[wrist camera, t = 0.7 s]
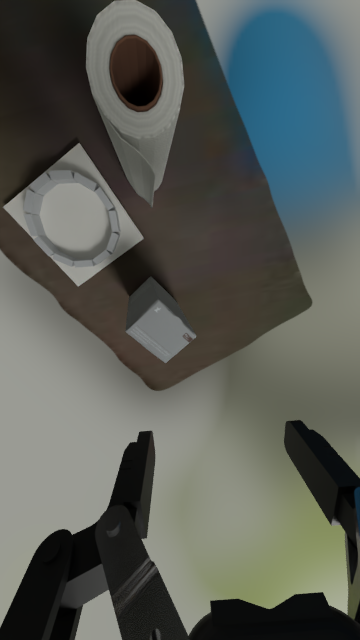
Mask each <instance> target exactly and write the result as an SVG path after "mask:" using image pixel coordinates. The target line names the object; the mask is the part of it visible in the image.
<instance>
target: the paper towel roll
mask: <svg viewBox="0 0 360 640" xmlns="http://www.w3.org/2000/svg"><path fill="white" fill-rule="evenodd" d="M86 71H87V75H88V79H89V83H90V87H91V92H92V95H93V98H94V100H95V103H96V105H97V108H98V110H99V112H100V115H101V117H102V120H103V122H104V124H105V127H106V129H107V132H108V134H109V137H110V139H111V141H112V144H113V146H114V149H115V151H116V153H117V156H118V158H119V161H120V163H121V166H122V168H123V170H124V173H125V175H126V178H127V179H128V181H129V183H130V184H131V186H132V187H133V189H134V190H135V191H136V193H137V194H138V195H139V196H141V197H142V198H144V199H145V200H146V201H147V202H148V203H149V204H150V206H151V208H152V204H153V196H154V191H155V190H157V189H158V188H159V186H160V184H161V183H162V179H163V175H164V171H165V167H166V163H167V159H168V155H169V151H170V147H171V143H172V139H173V135H174V131H175V127H176V123H177V119H178V114H179V110H180V105H181V100H182V95H183V90H184V78H183V67H182V58H181V55H180V53H179V50H178V47H177V45H176V42H175V39H174V36H173V34H172V32H171V30H170V29H169V28H168V27H167V25H166V24H165V23H164V21H163V20H162V19H161V17H160V16H159V15H158V14H157V12H156V11H154V10H153V9H151V8H149V7H147V6H145V5H144V4H142V3H140V2H138V1H136V0H122V1H114V2H112V3H111V4H110V5H109V6H107V7H106V8H105V9H104V10H103V11H101V12H100V13H99V14H98V15H97V16H96V19H95V21H94V24H93V26H92V28H91V31H90V33H89V35H88V38H87V53H86Z"/></svg>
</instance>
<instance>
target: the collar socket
mask: <svg viewBox="0 0 360 640" xmlns="http://www.w3.org/2000/svg"><path fill="white" fill-rule="evenodd" d="M4 208H5V210H6V211H7V212H8V213H9V214H10V215H11V216H12V217H13V218H14V219H15V220H16V221H17V222H18V223H19V224H20V225H21V226H22V228H23V229H24V230H25V231H26V232H27V233H28V234H29V235H30V236H31V237H32V238H33V239H34V241H35V242H36V243H37V244H38V245H39V246H40V247H41V249H42V250H43V251H44V252H45V253H46V254H47V255H48V256H50V257H51V258H52V259H53V260H54V261H55V262H56V263H57V265H58V266H59V267H60V268H61V269H62V270H63V271H64V272H65V273H66V274H67V275H68V276H69V277H70V278H71V279H72V280H73V281H74V283H75V284H76V285H77V286H80V285H81V284H82V283H84V282H85V281H87V280H88V279H89V278H91V277H92V276H93V275H95V274H96V273H97V272H99V271H100V270H102V269H103V268H104V267H106V266H107V265H108V264H110V263H111V262H112V261H114V260H115V259H117V258H118V257H119V256H121V255H122V254H123V253H125V252H126V251H127V250H129V249H130V248H132V247H133V246H134V245H136V244H137V243H138V242H140V241H141V240H143V239H144V237H143V236H142V234H141V233H140V232H139V230H138V229H137V227H136V226H135V224H134V223H133V221H132V220H131V218H130V217H129V215H128V214H127V212H126V211H125V209H124V208H123V206H122V205H121V203H120V202H119V200H118V199H117V197H116V196H115V194H114V193H113V192H112V190H111V189H110V187H109V186H108V184H107V183H106V181H105V180H104V178H103V177H102V175H101V174H100V172H99V171H98V169H97V168H96V166H95V165H94V163H93V162H92V160H91V159H90V157H89V156H88V155H87V153H86V152H85V150H84V149H83V147H82V146H81V145H80V143H78V144H77V145H76V146H75V147H74V148H73V149H71V150H70V151H69V152H68V153H67V154H65V155H64V156H63V157H62V158H61V159H60V160H58V161H57V162H56V163H55V164H54V165H52V166H51V167H50V168H49V169H48V170H46V171H45V172H44V173H43V174H42V175H41V176H39V177H38V178H37V179H36V180H35V181H33V182H32V183H31V184H30V185H29V186H28V187H26V188H25V189H24V190H23V191H22V192H20V193H19V194H18V195H17V196H16V197H15V198H13V199H12V200H11V201H10V202H9V203H7V204H6V205H5V206H4Z"/></svg>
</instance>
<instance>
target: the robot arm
mask: <svg viewBox="0 0 360 640" xmlns="http://www.w3.org/2000/svg"><path fill="white" fill-rule="evenodd" d="M284 444H285V448H286V451H287V453H288V455H289V457H290V458H291V460H292V462H293V463H294V465H295V466H296V468H297V470H298V471H299V473H300V475H301V476H302V478H303V480H304V481H305V483H306V485H307V486H308V488H309V490H310V491H311V493H312V495H313V496H314V498H315V499H316V501H317V503H318V504H319V506H320V508H321V509H322V511H323V513H324V514H325V516H326V518H327V519H328V521H329V522H330V524H331V525H341V526H342V527H343V529H344V530H345V547H346V561H347V574H348V615H346V614H345V613H343V612H342V611H340V610H338V609H336V608H334V607H332V606H329V605H328V602H327V600H326V598H325V596H324V594H323V592H321V593H308V594H296V595H294V596H292V597H290V598H289V599H287V600H285V601H284V602H282V603H281V604H279V605H278V606H276V607H275V608H272V609H266V608H263V607H261V606H258V605H255V604H252V603H248V602H246V601H243V600H240V599H228V600H215V601H210V603H211V612H210V613H209V614H207V615H206V616H204V617H203V618H202V619H201V620H200V621H199V622H198V623H197V624H196V625H195V627H194V628H193V629H192V631H191V633H190V634H189V636H188V634H187V632H186V630H185V628H184V626H183V623H182V621H181V619H180V617H179V615H178V612H177V610H176V608H175V606H174V604H173V602H172V599H171V597H170V595H169V593H168V591H167V588H166V586H165V584H164V582H163V580H162V577H161V575H160V573H159V571H158V569H157V567H156V565H155V563H154V562H152V561H151V560H150V557H149V555H148V553H147V551H146V549H145V546H144V544H143V542H142V540H141V539H144V538H147V532H148V531H147V530H148V522H149V513H150V503H151V494H152V485H153V476H154V466H155V447H154V440H153V432H152V431H143V432H139V435H138V439H137V442H132V443H130V444H129V445H128V446H127V448H126V449H125V451H124V454H123V457H122V462H121V464H120V468H119V471H118V475H117V478H116V482H115V485H114V489H113V492H112V496H111V499H110V503H109V506H108V508H107V510H106V511H105V512H104V513H103V515H102V516H101V517H100V519H99V520H98V521H97V522H96V523H95V524H93V525H92V526H90V527H88V528H86V529H84V530H82V531H80V532H77V533H76V534H73V535H72V534H71V532H70V531H68V530H65V529H62V530H58V531H55V532H54V533H52V534H51V535H49V536H48V537H47V538H46V539H45V540H44V541H43V542H42V543H41V544H40V546H39V547H38V549H37V550H36V552H35V554H34V556H33V558H32V560H31V562H30V564H29V566H28V569H27V571H26V573H25V575H24V577H23V579H22V582H21V584H20V586H19V588H18V590H17V593H16V595H15V597H14V599H13V601H12V603H11V606H10V608H9V610H8V612H7V615H6V616H5V619H4V621H3V623H2V625H1V627H0V640H75V636H76V632H77V628H78V623H79V619H80V615H81V611H82V607H83V604H85V603H87V602H88V601H90V600H92V599H93V598H95V597H97V596H98V595H100V594H102V593H103V592H105V591H107V590H109V591H110V595H111V599H112V602H113V606H114V610H115V614H116V618H117V621H118V625H119V629H120V633H121V637H122V640H360V478H359V477H358V476H357V475H356V474H355V472H354V471H353V470H352V469H351V468H350V467H349V466H348V465H347V463H346V462H345V461H344V460H343V459H342V458H341V457H340V456H339V455H338V454H337V452H336V451H335V450H334V449H333V448H332V447H331V446H330V444H329V443H328V442H327V441H326V440H325V438H324V437H323V436H321V435H320V434H318V433H317V432H315V431H314V430H309V429H308V428H307V427H306V425H305V424H304V423H303V422H302V421H301V420H297V421H296V420H295V421H287V422H286V426H285V438H284Z"/></svg>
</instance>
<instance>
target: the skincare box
mask: <svg viewBox="0 0 360 640" xmlns="http://www.w3.org/2000/svg"><path fill="white" fill-rule="evenodd" d="M126 332H127V333H128V334H129V335H130V336H132V337H133V338H134V339H135V340H136V341H138V342H139V343H140V344H141V345H143V346H144V347H145V348H146V349H148V350H149V351H150V352H152V353H153V354H154V355H155V356H157V357H158V358H159V359H161V360H162V361H163V362H165V363H166V362H167V361H169V360H170V359H171V358H172V357H173V356H174V355H176V354H177V353H178V352H179V351H180V350H181V349H183V348H184V347H185V346H186V345H187V344H188V343H190V342H191V341H192V340H193V339H194V338H196V334H195V333H194V331H193V329H192V327H191V326H190V324H189V322H188V321H187V319H186V317H185V316H184V314H183V312H182V310H181V309H180V307H179V305H178V303H177V302H176V301H175V300H174V298H173V297H172V296H171V295H170V294H169V293H168V292H167V291H166V290H165V289H164V288H162V287H161V286H160V285H159V284H158V283H157V282H156V281H155V280H154V279H153V278H152V277H149V278H148V279H147V280H146V281H145V282H144V283H143V284H142V285H141V286H140V287H139V288H138V289H137V290H136V291H135V292H134V293H133V294H132V295H131V296H130V297H129V304H128V313H127V322H126Z"/></svg>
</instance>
